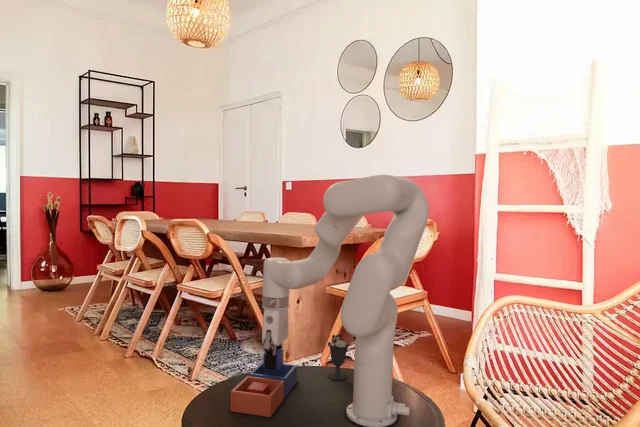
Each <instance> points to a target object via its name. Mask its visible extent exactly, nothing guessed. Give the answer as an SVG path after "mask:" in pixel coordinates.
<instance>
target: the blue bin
mask: <svg viewBox="0 0 640 427" xmlns="http://www.w3.org/2000/svg"><path fill="white" fill-rule="evenodd" d="M263 361H264V360H262V361H261V362H259V364H258V365H257V366H256V367H255V368H254V369H253V370H252V371H250V373H248V376H252V377H260V378H267V379H275V380H283V381H284V398H286V397H287V396H288V395H289V393H290V392H291V390H292V389H293V388H294V386H295V385H296V383H297V379H298V377H297V375H298V365H297V364H289V363H283V365H282V366H281V368H280V369H279V370H269V369H265V368H263Z"/></svg>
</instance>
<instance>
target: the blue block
mask: <svg viewBox="0 0 640 427" xmlns="http://www.w3.org/2000/svg"><path fill="white" fill-rule="evenodd" d="M271 348H272V350H273V347H271ZM275 355H277V360H276V369H275V370H279V369H280V368H281V366H282V365H283V364H284V349H283V348H282V349H276V354H275ZM262 361H263V368H265V351H264V352H263V360H262Z"/></svg>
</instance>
